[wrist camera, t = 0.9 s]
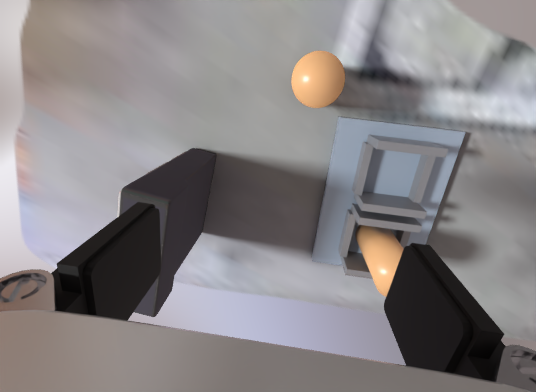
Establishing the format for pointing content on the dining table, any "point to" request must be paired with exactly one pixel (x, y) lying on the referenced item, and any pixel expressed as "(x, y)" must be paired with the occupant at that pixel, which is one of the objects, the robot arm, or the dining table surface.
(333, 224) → the housing
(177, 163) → the dark grey slab
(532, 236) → the dining table surface
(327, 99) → the tan capsule rod
